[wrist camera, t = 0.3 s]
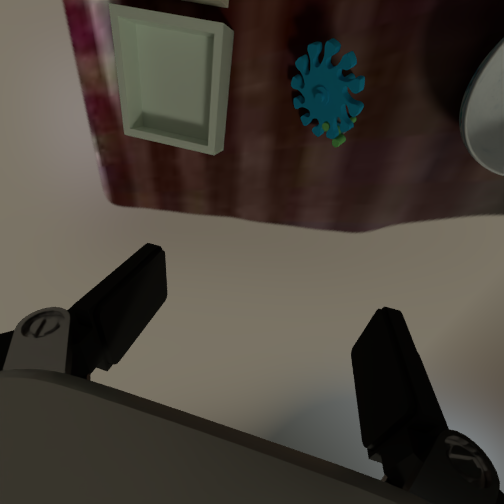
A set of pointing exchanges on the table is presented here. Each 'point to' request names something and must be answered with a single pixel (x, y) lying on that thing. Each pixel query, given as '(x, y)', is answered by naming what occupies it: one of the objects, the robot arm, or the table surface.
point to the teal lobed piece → (328, 91)
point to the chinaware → (485, 112)
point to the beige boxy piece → (212, 2)
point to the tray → (172, 77)
